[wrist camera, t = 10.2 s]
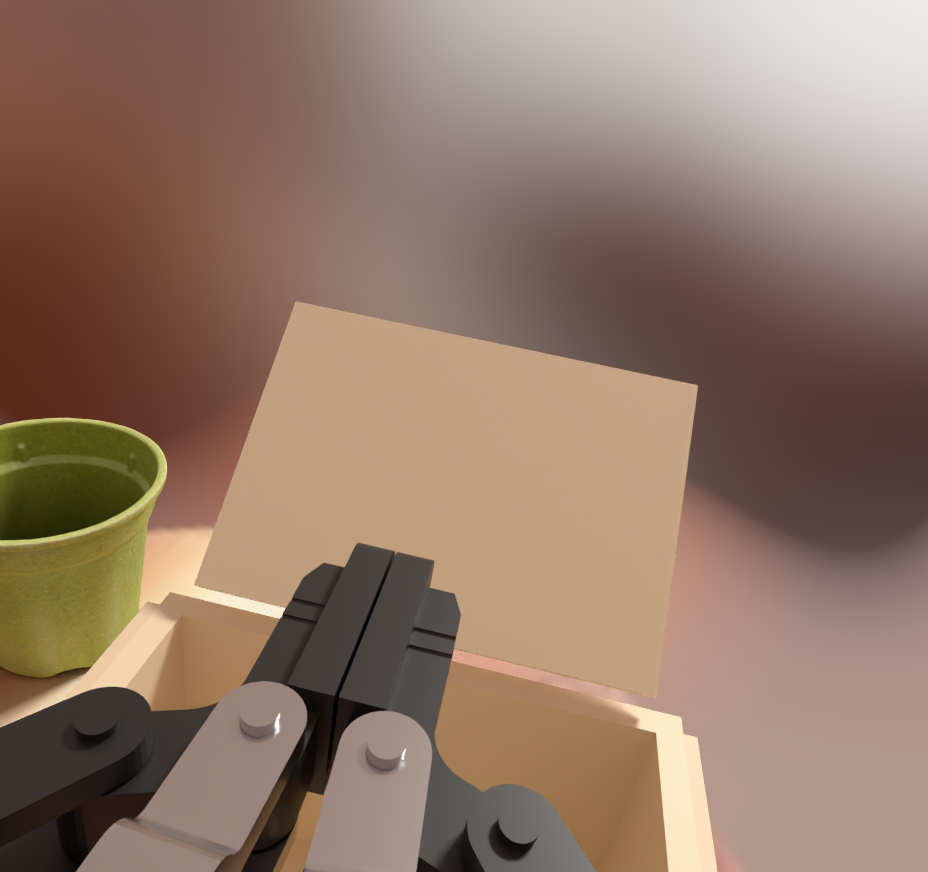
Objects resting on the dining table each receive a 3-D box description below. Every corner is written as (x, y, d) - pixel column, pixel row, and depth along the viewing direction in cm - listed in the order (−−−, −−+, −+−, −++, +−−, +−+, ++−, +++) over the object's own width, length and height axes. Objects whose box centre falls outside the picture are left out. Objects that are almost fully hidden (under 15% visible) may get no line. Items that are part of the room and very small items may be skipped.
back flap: (194, 584, 21) (295, 301, 25) (200, 587, 22) (298, 308, 25) (656, 697, 20) (698, 385, 24) (652, 697, 21) (693, 391, 24)
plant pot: (83, 742, 28) (58, 572, 24) (-118, 673, 29) (-174, 500, 25) (212, 594, 36) (210, 449, 32) (50, 545, 37) (29, 399, 33)
